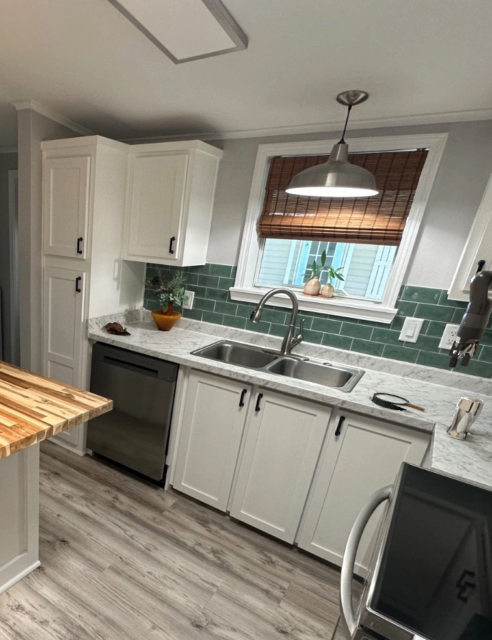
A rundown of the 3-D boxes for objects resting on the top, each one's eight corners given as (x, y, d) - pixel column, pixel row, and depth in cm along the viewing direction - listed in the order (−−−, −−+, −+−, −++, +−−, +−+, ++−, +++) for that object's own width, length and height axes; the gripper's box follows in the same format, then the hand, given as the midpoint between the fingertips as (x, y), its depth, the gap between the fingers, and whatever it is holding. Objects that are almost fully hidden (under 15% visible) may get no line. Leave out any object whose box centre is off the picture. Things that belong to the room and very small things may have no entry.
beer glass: (443, 429, 156) (459, 393, 150) (466, 435, 152) (484, 399, 147) (444, 436, 151) (461, 399, 145) (468, 442, 147) (486, 405, 141)
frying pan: (429, 416, 169) (433, 407, 167) (410, 420, 164) (414, 410, 162) (383, 399, 186) (385, 390, 184) (364, 402, 180) (367, 393, 179)
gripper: (474, 328, 148) (459, 370, 153) (494, 327, 154) (478, 368, 159) (451, 324, 154) (436, 365, 160) (471, 323, 160) (456, 362, 165)
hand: (457, 366), depth 159 cm, fingers open, 8 cm apart
